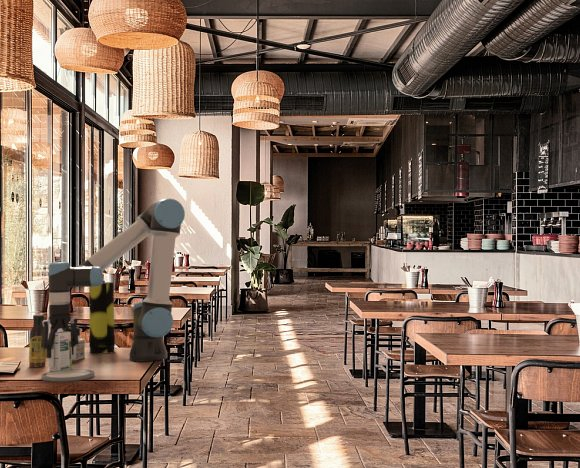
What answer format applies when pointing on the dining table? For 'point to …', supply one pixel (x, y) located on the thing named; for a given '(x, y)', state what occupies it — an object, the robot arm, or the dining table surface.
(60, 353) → the syrup box
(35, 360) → the sauce bottle
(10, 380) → the dining table surface
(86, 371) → the dish
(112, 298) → the container
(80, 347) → the container
